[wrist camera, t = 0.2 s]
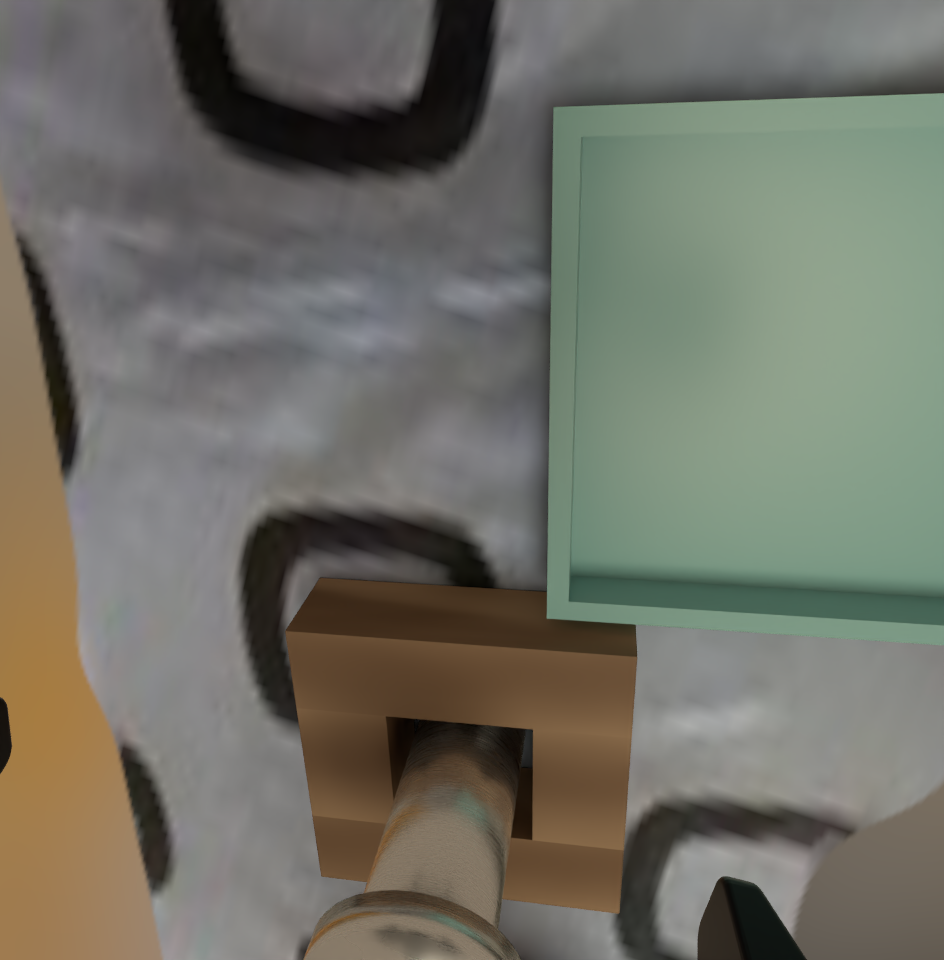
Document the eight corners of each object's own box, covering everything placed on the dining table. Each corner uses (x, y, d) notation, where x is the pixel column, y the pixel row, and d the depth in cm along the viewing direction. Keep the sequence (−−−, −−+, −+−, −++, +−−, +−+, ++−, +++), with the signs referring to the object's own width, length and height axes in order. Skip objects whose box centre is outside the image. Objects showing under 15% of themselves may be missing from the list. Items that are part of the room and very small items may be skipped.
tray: (1016, 605, 22) (1056, 653, 20) (552, 578, 24) (546, 618, 22) (1170, 88, 17) (1246, 82, 15) (559, 109, 19) (553, 107, 17)
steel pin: (551, 778, 27) (523, 1099, 18) (406, 764, 28) (309, 1064, 19) (553, 655, 25) (522, 949, 16) (396, 644, 26) (283, 917, 17)
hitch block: (618, 837, 28) (619, 913, 25) (348, 807, 29) (321, 876, 27) (634, 597, 24) (636, 657, 21) (319, 577, 25) (285, 631, 23)
